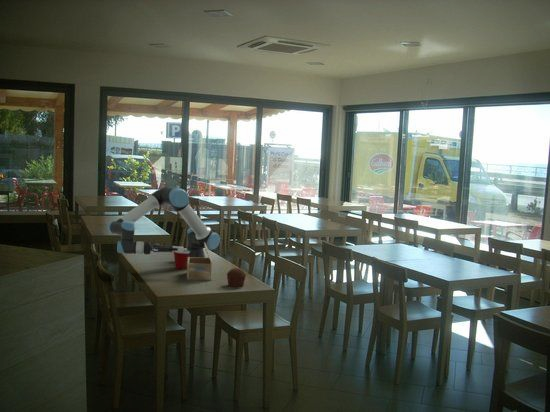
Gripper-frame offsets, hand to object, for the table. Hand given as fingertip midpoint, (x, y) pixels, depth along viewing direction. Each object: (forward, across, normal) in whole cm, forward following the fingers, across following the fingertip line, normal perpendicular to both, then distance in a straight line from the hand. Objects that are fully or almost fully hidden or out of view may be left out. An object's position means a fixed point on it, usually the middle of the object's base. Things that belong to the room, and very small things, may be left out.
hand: (183, 249), depth 350 cm
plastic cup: (-2, -23, -17) cm, 29 cm away
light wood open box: (+10, -1, -17) cm, 20 cm away
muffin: (+32, +20, -17) cm, 41 cm away
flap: (+17, -1, -7) cm, 19 cm away
